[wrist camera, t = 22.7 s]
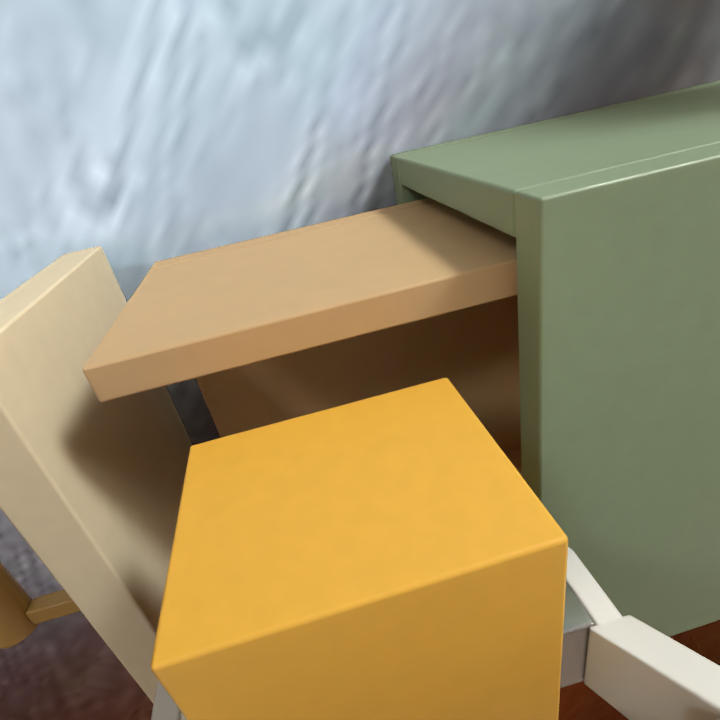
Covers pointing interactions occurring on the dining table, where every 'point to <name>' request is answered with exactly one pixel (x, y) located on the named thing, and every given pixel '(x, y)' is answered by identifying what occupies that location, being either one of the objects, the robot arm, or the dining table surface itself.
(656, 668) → the robot arm
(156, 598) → the drawer
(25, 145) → the dining table surface
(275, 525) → the matchbox
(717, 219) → the cabinet
